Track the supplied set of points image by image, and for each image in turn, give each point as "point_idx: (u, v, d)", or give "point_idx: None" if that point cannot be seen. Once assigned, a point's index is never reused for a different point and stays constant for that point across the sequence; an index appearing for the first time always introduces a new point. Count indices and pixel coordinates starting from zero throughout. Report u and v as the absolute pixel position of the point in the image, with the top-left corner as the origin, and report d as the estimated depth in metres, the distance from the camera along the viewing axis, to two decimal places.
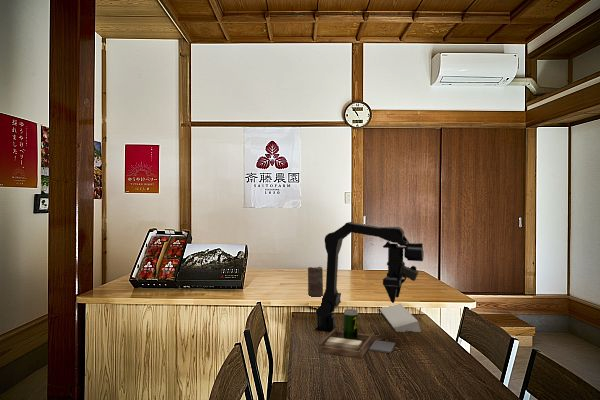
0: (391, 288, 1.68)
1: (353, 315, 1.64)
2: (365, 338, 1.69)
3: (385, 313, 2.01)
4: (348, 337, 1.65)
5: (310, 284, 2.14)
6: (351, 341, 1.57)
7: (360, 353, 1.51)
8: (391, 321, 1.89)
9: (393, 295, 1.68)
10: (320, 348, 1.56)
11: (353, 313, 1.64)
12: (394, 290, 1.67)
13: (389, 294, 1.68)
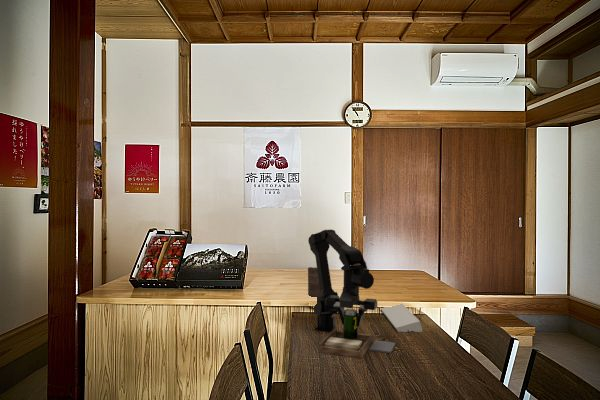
0: None
1: (353, 315, 1.64)
2: (365, 338, 1.69)
3: (387, 313, 2.01)
4: (348, 337, 1.65)
5: (310, 284, 2.14)
6: (351, 341, 1.57)
7: (360, 353, 1.51)
8: (393, 321, 1.89)
9: None
10: (320, 348, 1.56)
11: (353, 313, 1.64)
12: None
13: None
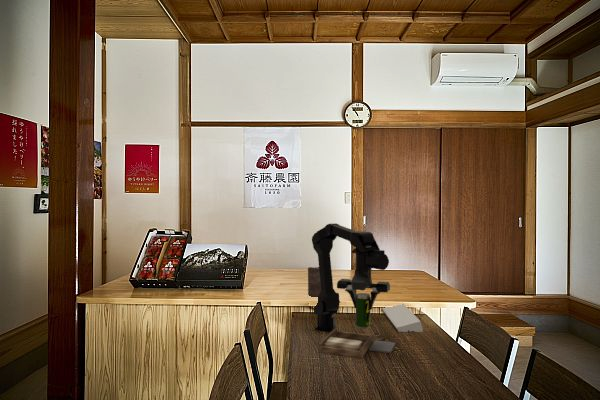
0: None
1: (366, 298, 1.62)
2: (365, 338, 1.69)
3: (388, 313, 2.01)
4: (360, 321, 1.62)
5: (310, 284, 2.14)
6: (351, 341, 1.57)
7: (360, 353, 1.51)
8: (394, 321, 1.89)
9: None
10: (320, 348, 1.56)
11: (365, 297, 1.62)
12: None
13: None
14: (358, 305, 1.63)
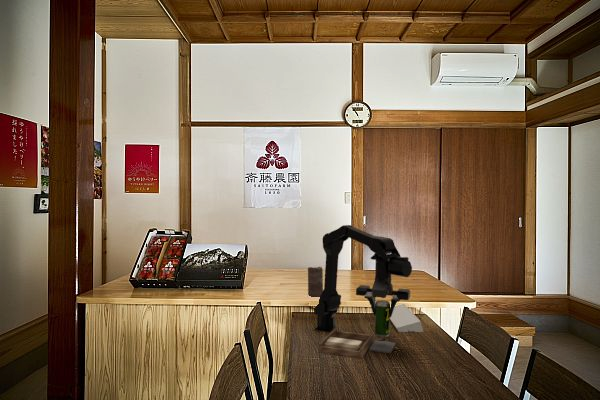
0: None
1: (386, 306, 1.59)
2: (365, 338, 1.69)
3: None
4: (380, 329, 1.60)
5: (310, 284, 2.14)
6: (351, 341, 1.57)
7: (360, 353, 1.51)
8: (394, 321, 1.89)
9: None
10: (320, 348, 1.56)
11: (385, 304, 1.59)
12: None
13: None
14: (378, 313, 1.60)
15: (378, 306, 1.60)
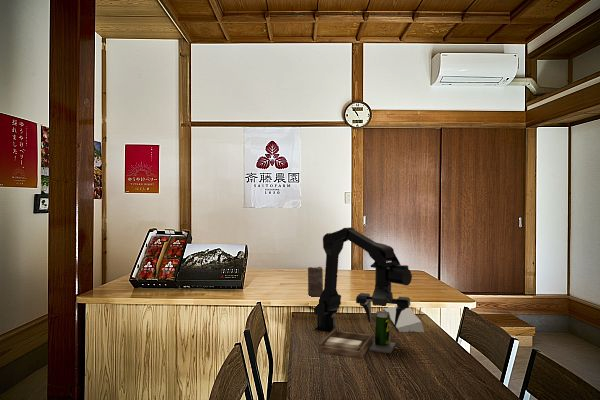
0: None
1: (386, 317, 1.59)
2: (365, 338, 1.69)
3: None
4: (380, 340, 1.60)
5: (310, 284, 2.14)
6: (351, 341, 1.57)
7: (360, 353, 1.51)
8: None
9: None
10: (320, 348, 1.56)
11: (385, 315, 1.59)
12: None
13: None
14: (378, 324, 1.60)
15: (378, 317, 1.60)
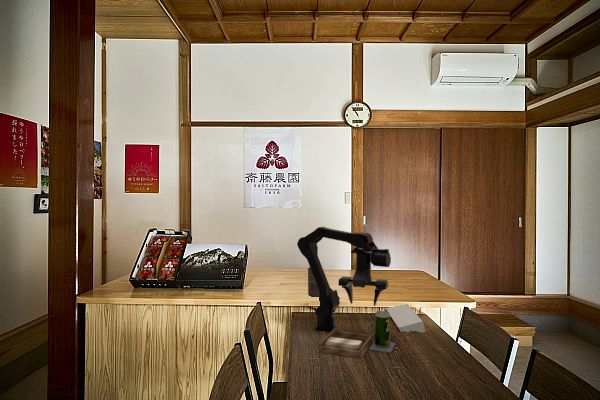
0: None
1: (386, 317, 1.59)
2: (365, 338, 1.69)
3: (391, 313, 2.01)
4: (380, 340, 1.60)
5: (310, 284, 2.14)
6: (351, 341, 1.57)
7: (360, 353, 1.51)
8: (396, 321, 1.89)
9: None
10: (320, 348, 1.56)
11: (385, 315, 1.60)
12: None
13: None
14: (378, 324, 1.60)
15: (378, 317, 1.60)
